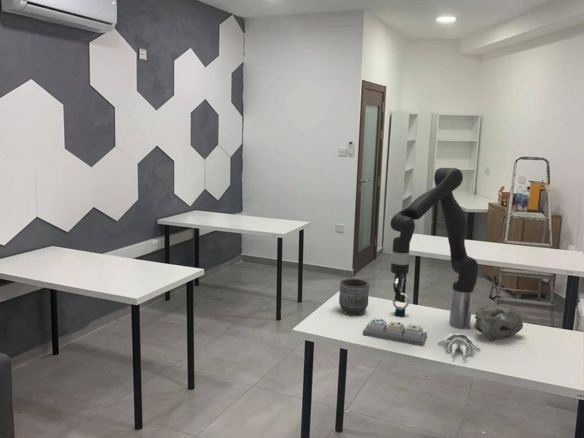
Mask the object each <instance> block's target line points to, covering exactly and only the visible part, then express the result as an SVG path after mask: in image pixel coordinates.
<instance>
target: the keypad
mask: <svg viewBox="0 0 584 438" xmlns="http://www.w3.org/2000/svg"><path fill="white" fill-rule="evenodd" d="M372 320H373V318H372V319H370V320H369V322H368V323H367V325H366V326H365V327H364V329H363V330H362V336H367V337H371V338H375V339H381V340H387V341H393V342H397V343H403V344H410V345H413V346H419V347H424V345H425V342H426V339H427V336H428V332H426V331H424V328H423V327H421V331H420V333H417V332H411V331H407V328H408V326H409V324H408V325H407V326H406V325H405V324H402V328H401V330H400V329H394V328H389V324H390V322H391V321H390V322H387V321H386V320H384V325H383V326H378V325H372V324H371V321H372ZM387 323H388V324H387ZM405 326H406V327H405Z"/></svg>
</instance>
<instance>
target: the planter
mask: <svg viewBox="0 0 584 438" xmlns="http://www.w3.org/2000/svg"><path fill="white" fill-rule="evenodd" d="M369 292H370V283H369V281H367V280H365V279H362V278H351V277H350V278H348V277H347V278H343V279H341V280H340V283H339V295H338V296H339V299H338V302H339V305H340V307H341V310H342V311H343V313H345V314H348V315H351V316H352V315H353V316H357V315H358V316H359V315H362V314H363V313H364V312H365V310H366V309H367V307H368V306H369V294H370V293H369Z"/></svg>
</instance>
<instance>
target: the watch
mask: <svg viewBox="0 0 584 438" xmlns="http://www.w3.org/2000/svg"><path fill="white" fill-rule="evenodd" d="M401 296H404V297H406V298H407V303H405V305H404V307H403V306H397V305H396V302H397V301H395V296H394V297H393V299H392V306H393V307H394V308H395V310H394V311H395V312H394V313H395V314H394V317H397V318H398V317H399V318H405V315H406V308H407V307H408V306H409V304H410V297H409V296H408V295H407V294H406V293H404V292H401Z"/></svg>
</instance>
